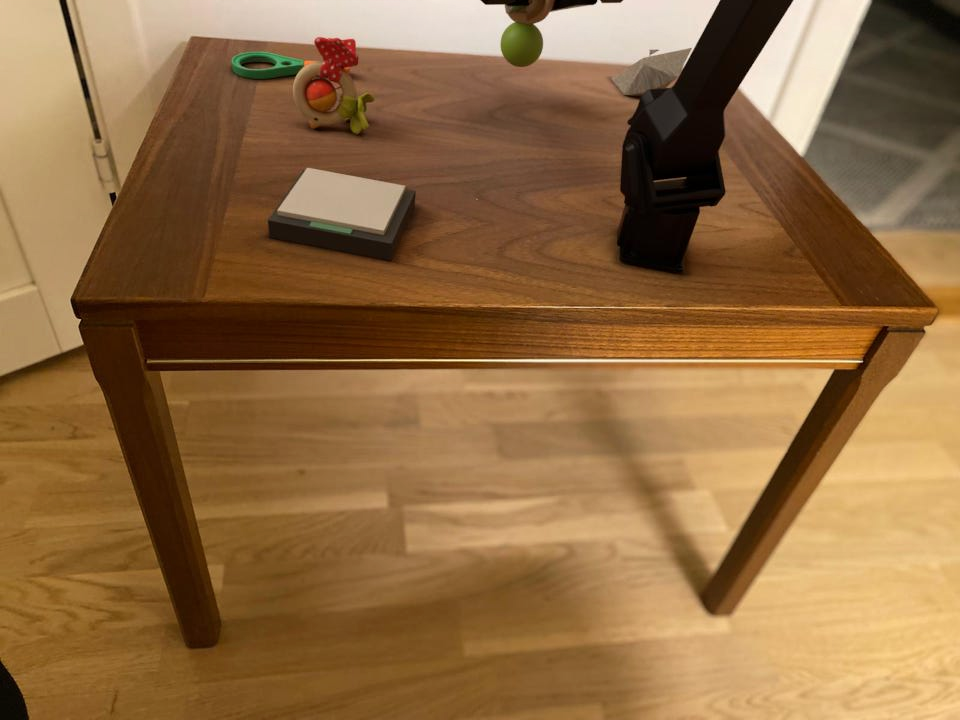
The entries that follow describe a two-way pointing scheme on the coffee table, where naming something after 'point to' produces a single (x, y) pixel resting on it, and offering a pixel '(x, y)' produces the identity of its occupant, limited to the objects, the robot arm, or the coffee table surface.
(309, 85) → the bird rattle
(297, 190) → the scale
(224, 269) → the coffee table surface
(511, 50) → the snail figurine
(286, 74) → the magnifying glass
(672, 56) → the paper boat
